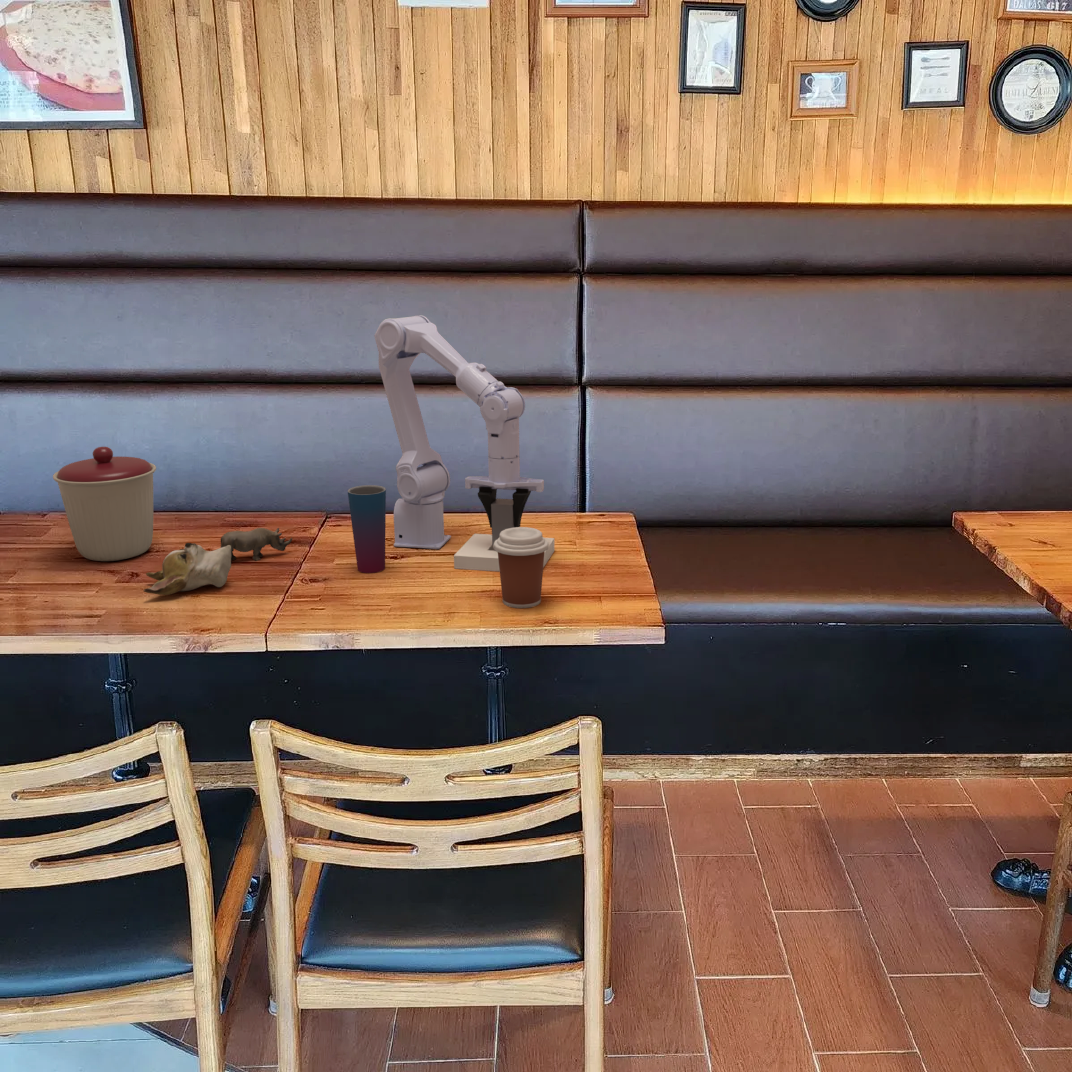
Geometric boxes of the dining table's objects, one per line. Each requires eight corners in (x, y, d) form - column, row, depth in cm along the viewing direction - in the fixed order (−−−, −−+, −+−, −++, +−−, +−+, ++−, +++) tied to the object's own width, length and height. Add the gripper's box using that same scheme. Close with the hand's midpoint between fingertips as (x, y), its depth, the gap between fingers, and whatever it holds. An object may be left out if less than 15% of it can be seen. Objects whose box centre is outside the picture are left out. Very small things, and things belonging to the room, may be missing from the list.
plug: (492, 545, 188) (491, 504, 185) (497, 539, 191) (496, 498, 189) (513, 546, 187) (512, 505, 184) (518, 540, 190) (517, 499, 188)
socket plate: (454, 568, 185) (453, 555, 185) (474, 545, 198) (474, 533, 198) (539, 574, 182) (539, 560, 181) (554, 550, 195) (554, 538, 194)
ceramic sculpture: (230, 545, 171) (137, 559, 167) (238, 592, 174) (146, 608, 169) (228, 528, 181) (140, 541, 176) (236, 573, 183) (149, 588, 179)
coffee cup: (509, 615, 163) (508, 544, 159) (485, 597, 171) (484, 529, 167) (558, 605, 167) (558, 536, 163) (533, 588, 175) (532, 522, 171)
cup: (397, 565, 187) (393, 487, 183) (376, 576, 181) (372, 496, 177) (366, 560, 190) (361, 483, 185) (345, 571, 184) (339, 492, 180)
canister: (43, 562, 191) (26, 453, 184) (115, 535, 207) (101, 434, 200) (118, 573, 184) (102, 460, 178) (185, 545, 200) (173, 441, 194)
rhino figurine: (295, 556, 193) (293, 526, 191) (221, 566, 188) (218, 535, 186) (291, 550, 197) (289, 521, 195) (218, 560, 192) (215, 529, 190)
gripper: (459, 459, 182) (461, 530, 186) (538, 462, 179) (538, 535, 183) (470, 450, 189) (472, 520, 193) (546, 453, 186) (546, 524, 190)
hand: (505, 527), depth 188 cm, fingers closed on plug, 4 cm apart
